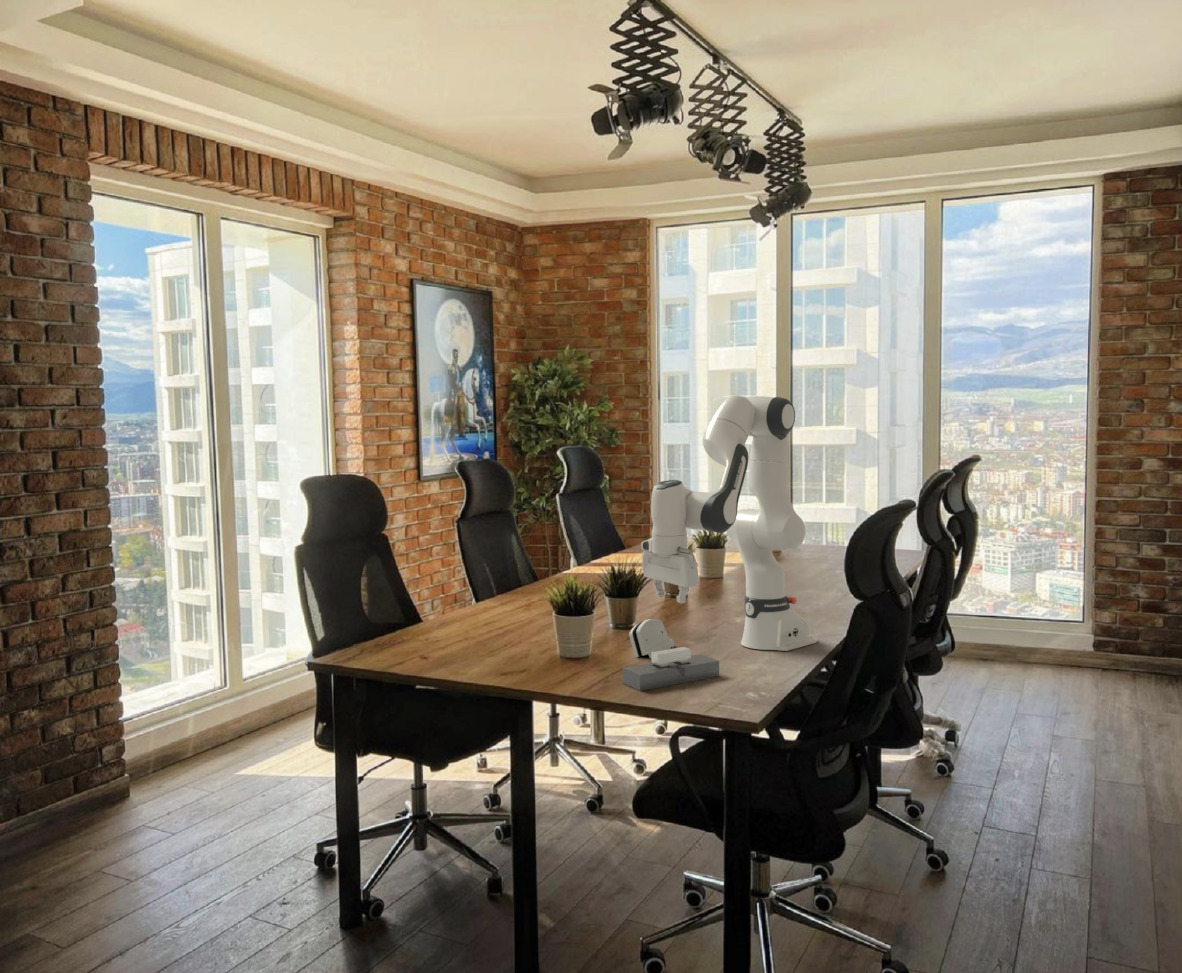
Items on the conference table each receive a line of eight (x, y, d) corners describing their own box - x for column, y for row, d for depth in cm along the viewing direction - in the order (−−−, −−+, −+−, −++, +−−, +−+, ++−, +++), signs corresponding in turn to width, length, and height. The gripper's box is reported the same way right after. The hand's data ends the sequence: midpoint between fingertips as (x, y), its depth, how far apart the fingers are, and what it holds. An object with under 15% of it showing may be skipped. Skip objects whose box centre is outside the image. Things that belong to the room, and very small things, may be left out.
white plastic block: (651, 659, 269) (639, 624, 270) (636, 663, 271) (624, 628, 272) (675, 645, 283) (664, 612, 284) (661, 649, 286) (650, 616, 287)
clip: (684, 675, 252) (683, 646, 251) (691, 678, 249) (690, 649, 249) (651, 681, 247) (651, 652, 246) (658, 684, 244) (657, 654, 244)
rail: (700, 669, 257) (700, 654, 257) (719, 676, 250) (719, 660, 250) (623, 683, 246) (622, 667, 245) (640, 691, 239) (639, 675, 238)
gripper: (704, 549, 238) (705, 605, 239) (657, 539, 256) (658, 592, 257) (682, 551, 235) (683, 608, 236) (637, 542, 253) (638, 595, 254)
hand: (670, 599), depth 246 cm, fingers open, 8 cm apart
